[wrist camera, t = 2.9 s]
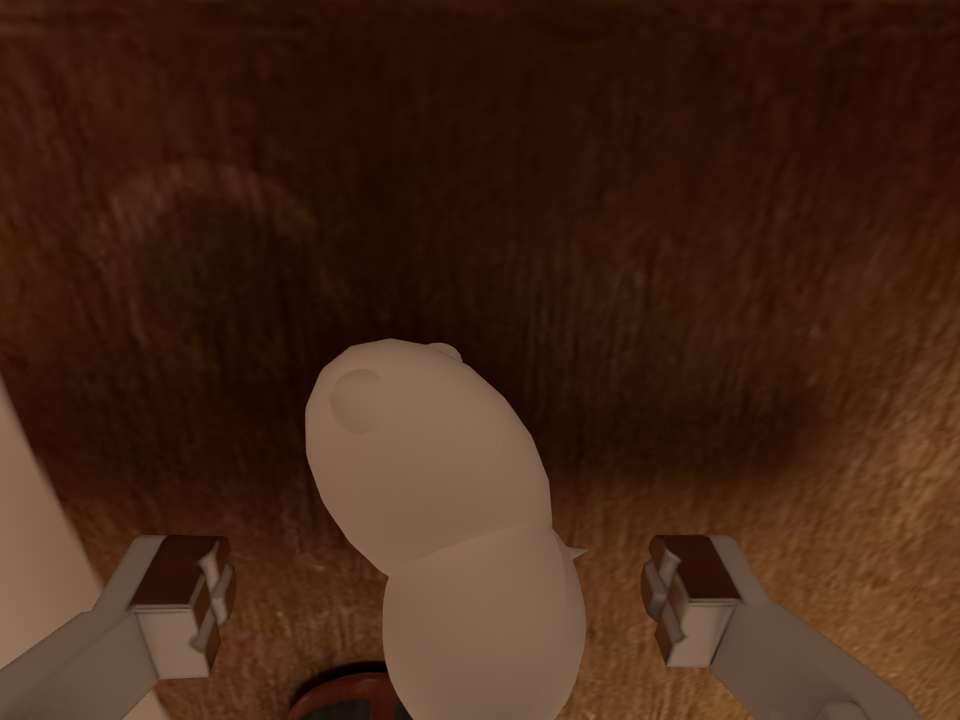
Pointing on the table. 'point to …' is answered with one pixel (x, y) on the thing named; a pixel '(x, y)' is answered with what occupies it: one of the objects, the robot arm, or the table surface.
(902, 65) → the table surface
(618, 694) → the table surface
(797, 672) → the robot arm
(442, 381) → the toy creature
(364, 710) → the supplement bottle
